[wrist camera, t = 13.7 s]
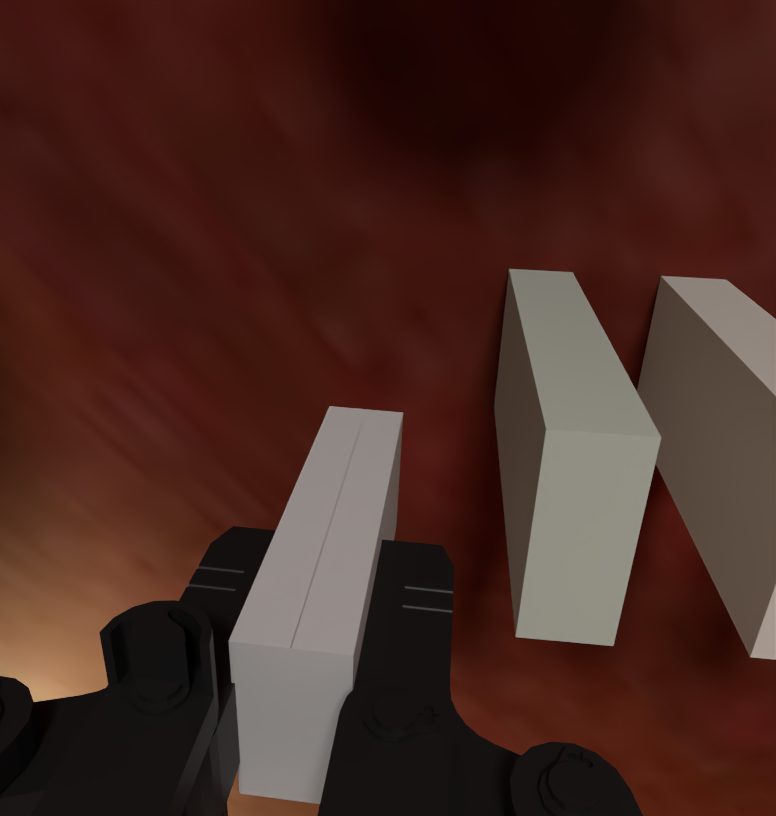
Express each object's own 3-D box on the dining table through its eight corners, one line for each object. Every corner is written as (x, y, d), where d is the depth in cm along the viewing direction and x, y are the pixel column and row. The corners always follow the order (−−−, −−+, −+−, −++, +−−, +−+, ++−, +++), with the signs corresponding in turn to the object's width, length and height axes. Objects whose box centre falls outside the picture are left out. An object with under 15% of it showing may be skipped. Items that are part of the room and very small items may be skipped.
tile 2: (631, 415, 22) (750, 657, 13) (661, 275, 20) (824, 446, 11) (691, 419, 22) (852, 666, 13) (726, 279, 20) (946, 455, 11)
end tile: (494, 406, 22) (515, 637, 13) (509, 268, 20) (546, 429, 11) (551, 410, 22) (613, 646, 13) (572, 272, 20) (660, 437, 11)
